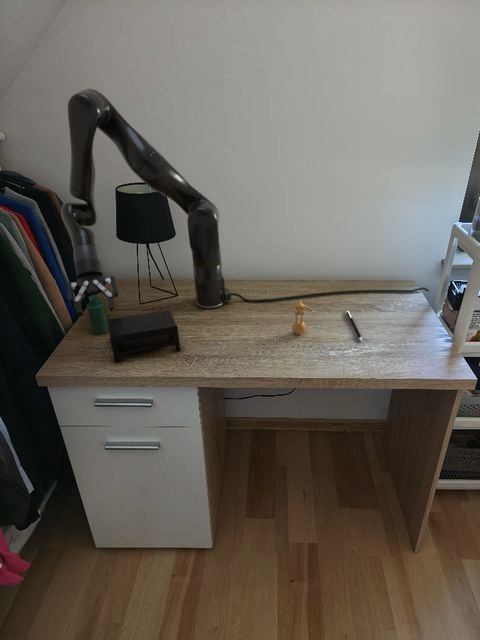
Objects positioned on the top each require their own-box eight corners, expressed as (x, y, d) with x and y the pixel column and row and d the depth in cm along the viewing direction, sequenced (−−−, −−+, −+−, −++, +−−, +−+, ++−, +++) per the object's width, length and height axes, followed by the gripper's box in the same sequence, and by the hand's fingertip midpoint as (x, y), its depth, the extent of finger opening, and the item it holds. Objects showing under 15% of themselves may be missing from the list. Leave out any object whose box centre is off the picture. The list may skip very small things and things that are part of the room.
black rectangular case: (172, 329, 147) (169, 305, 143) (180, 351, 137) (177, 325, 132) (112, 339, 142) (107, 315, 138) (115, 362, 132) (109, 337, 128)
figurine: (312, 330, 146) (313, 294, 139) (313, 340, 141) (315, 303, 134) (284, 329, 146) (285, 294, 140) (285, 340, 141) (285, 303, 134)
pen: (348, 312, 155) (348, 308, 154) (363, 342, 139) (363, 339, 138) (345, 312, 155) (345, 309, 154) (360, 342, 139) (360, 339, 138)
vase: (108, 325, 150) (101, 292, 144) (109, 333, 146) (102, 298, 140) (92, 328, 149) (84, 294, 143) (92, 335, 145) (84, 301, 139)
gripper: (60, 260, 141) (69, 312, 138) (110, 254, 145) (120, 304, 142) (65, 270, 149) (73, 320, 145) (112, 264, 152) (121, 312, 149)
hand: (96, 312), depth 144 cm, fingers open, 8 cm apart
